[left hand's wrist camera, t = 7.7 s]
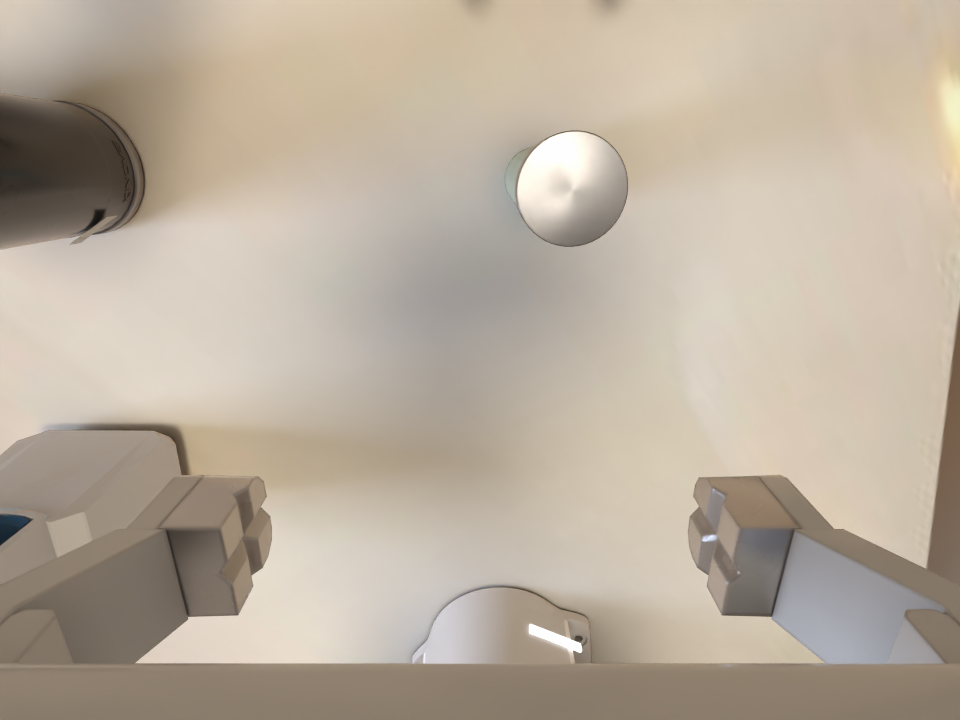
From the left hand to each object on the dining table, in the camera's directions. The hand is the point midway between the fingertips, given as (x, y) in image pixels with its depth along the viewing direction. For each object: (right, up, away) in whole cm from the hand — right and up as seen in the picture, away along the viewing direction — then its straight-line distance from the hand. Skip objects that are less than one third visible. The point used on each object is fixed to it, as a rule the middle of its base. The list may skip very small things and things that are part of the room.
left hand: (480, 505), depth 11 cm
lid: (+4, +10, +14) cm, 18 cm away
